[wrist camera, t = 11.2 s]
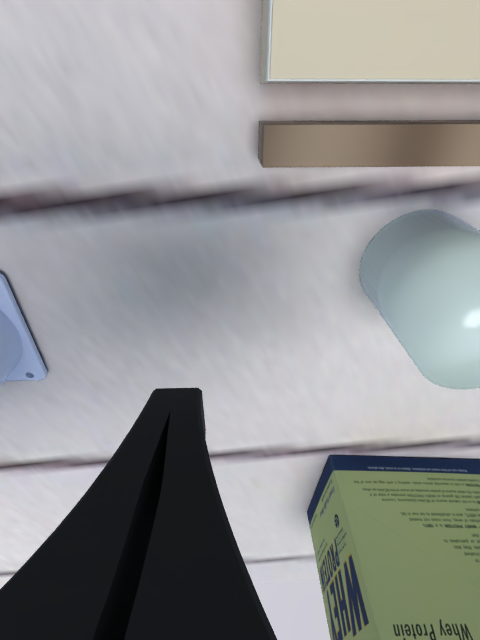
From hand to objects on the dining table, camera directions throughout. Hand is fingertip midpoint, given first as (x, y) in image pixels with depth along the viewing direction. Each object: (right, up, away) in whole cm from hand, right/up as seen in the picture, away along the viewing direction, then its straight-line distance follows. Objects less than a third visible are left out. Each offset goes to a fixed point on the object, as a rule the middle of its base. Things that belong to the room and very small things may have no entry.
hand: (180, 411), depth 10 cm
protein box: (+17, -14, +23) cm, 31 cm away
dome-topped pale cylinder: (+12, +6, +9) cm, 16 cm away
